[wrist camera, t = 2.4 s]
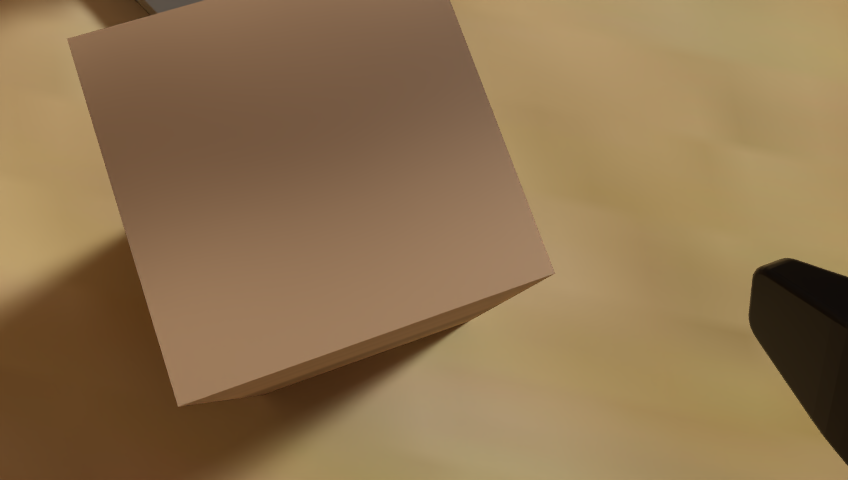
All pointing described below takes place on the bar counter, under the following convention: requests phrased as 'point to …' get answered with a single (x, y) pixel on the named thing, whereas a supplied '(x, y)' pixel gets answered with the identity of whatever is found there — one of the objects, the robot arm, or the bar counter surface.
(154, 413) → the bar counter surface
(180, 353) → the walnut block
